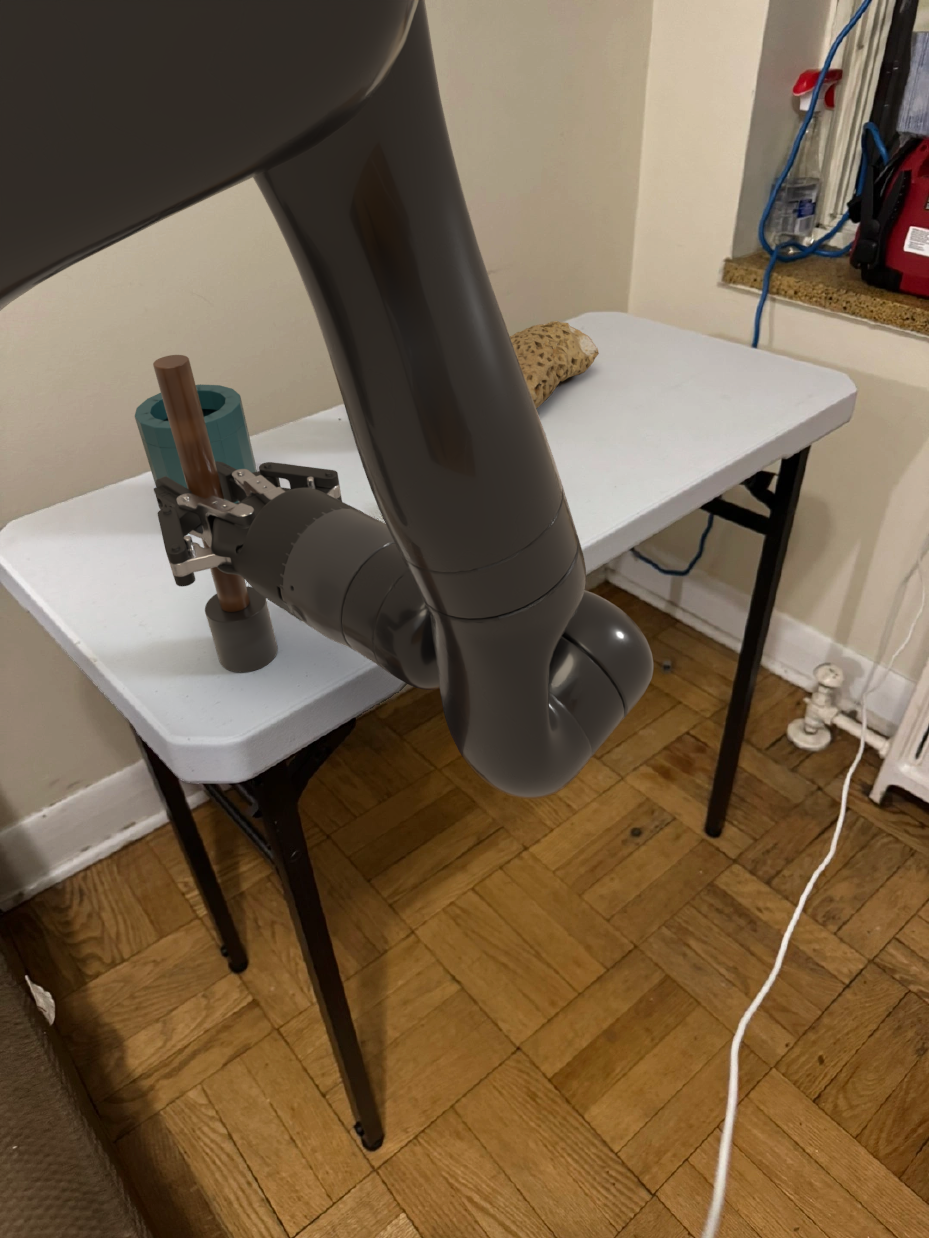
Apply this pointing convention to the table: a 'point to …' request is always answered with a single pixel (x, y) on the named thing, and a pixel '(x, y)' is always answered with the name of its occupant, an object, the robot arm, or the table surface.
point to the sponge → (552, 356)
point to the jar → (222, 429)
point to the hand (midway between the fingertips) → (183, 481)
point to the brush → (235, 607)
